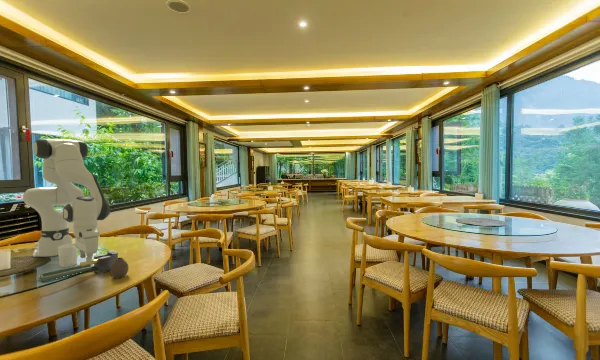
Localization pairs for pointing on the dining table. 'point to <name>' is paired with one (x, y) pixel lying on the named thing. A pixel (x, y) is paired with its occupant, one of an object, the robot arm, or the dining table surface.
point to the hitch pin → (88, 263)
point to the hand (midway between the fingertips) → (85, 259)
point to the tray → (64, 272)
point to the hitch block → (105, 261)
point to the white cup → (67, 254)
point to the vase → (119, 268)
